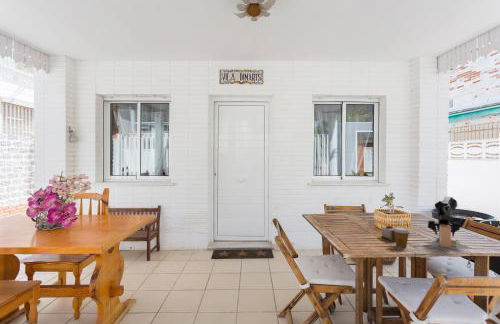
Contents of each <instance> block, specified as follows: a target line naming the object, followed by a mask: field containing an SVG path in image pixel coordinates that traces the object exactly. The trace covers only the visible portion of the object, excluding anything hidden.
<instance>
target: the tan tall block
mask: <svg viewBox="0 0 500 324" xmlns="http://www.w3.org/2000/svg"><path fill="white" fill-rule="evenodd" d="M438 238H439V239H438V242H439V245H440V246H441V247H450V248H451V239H452V232H451V226H449V225H441V224H440V227H439V231H438Z"/></svg>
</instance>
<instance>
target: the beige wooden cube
mask: <svg viewBox="0 0 500 324" xmlns="http://www.w3.org/2000/svg"><path fill="white" fill-rule="evenodd" d="M456 243H457V240H456V239H455V238H451V246H456Z"/></svg>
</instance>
